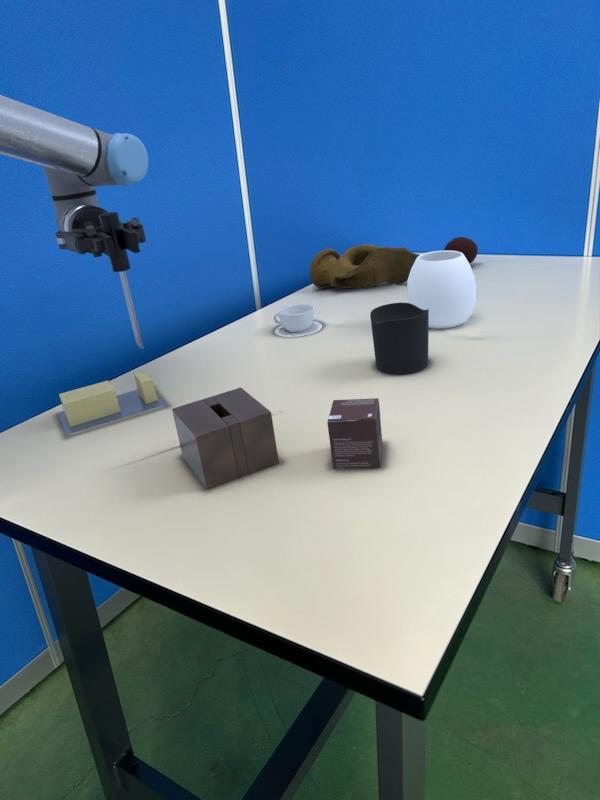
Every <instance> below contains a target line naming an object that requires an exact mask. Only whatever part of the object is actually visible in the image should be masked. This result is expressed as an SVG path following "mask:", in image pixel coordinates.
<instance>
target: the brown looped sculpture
mask: <svg viewBox="0 0 600 800" xmlns="http://www.w3.org/2000/svg"><path fill="white" fill-rule="evenodd" d="M419 255H420V254H418V253H414V252H412V251H410V250H409V249H407V248H406V247H404V246H403V247H390V246H378V245H374V244H373V245H372V244H358V245H354V246H352V247H349V248H348V249H346V250H345V251H344V252H343V253H342V254H341V255H340V254H339V252H338V251H337V250H335V249H334V248H326V249H323V250H321V251H319V252H318V253H316V255H315V256H314V257H313V259H312V260H311V263H310V268H309V277H310V281H311V283H312V284H313V286H314V287H316V288H318V289H321V290H322V289H326V288H329V287H330V286H334V287H335V288H340V289H353V288H362V289H363V288H364V289H370V288H373V287H374V286H378V285H381V284H388V283H389V284H394V285H397V286H399V285H402V284H404V283H406V282H407V280H408V277H409V274H410V271H411V268H412V266H413V264H414V262H415V260H416V258H417V257H418V256H419Z"/></svg>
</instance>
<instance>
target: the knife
mask: <svg viewBox="0 0 600 800" xmlns="http://www.w3.org/2000/svg"><path fill="white" fill-rule="evenodd" d="M99 218H100V222H101V226H102V230H103V233H105V234H107V235H109V236H111V237H112V239H113V244H114V248H115V252H116V256H117V257H114V258H110V257H109V256H108V258H109V263H110V267H111V271H112V272H113V273H118V274H119V279H120V282H121V286H122V291H123V294H124V298H125V302H126V306H127V307H126V308H127V311H128V315H129V319H130V323H131V328H132V332H133V335H134V340H135V345H137V347H138V348H139V349H140V350H144V344H143V339H142V335H141V331H140V327H139V323H138V318H137V314H136V310H135V305H134V302H133V297H132V292H131V290H130V285H129V284H130V283H129V281H128V276H127V273H126V271H128V270H130V269H131V264H130V259H129V255H128V251H127V249H126V246H125V242H124V238H123V233H122V229H121V225H120V221H121V220H120V217H119V213H118V212H117V211H112V212H111V211H110V212H109V213H104V214H100V215H99Z"/></svg>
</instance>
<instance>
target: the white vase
mask: <svg viewBox="0 0 600 800" xmlns="http://www.w3.org/2000/svg"><path fill="white" fill-rule="evenodd" d="M406 282H407V284H406V286H407V287H406V301H407V302H406V303H410V304H413V305H415V306H417V307H419V308H420V309H422V310H427V309H428V310H429V328H428V329H436V330H438V329H440V330H442V329H451V328H455V327H459V326H461V325H463V324H464V323H466V322H467V321H468V320H470V318H471V316H472V315H473V314H474V310H475V308H476V305H477V283H476V276H475V273H474V271H473V268H472V266H471V263H470V264H469V262H468V261H467V259H466V257H465V256H464V254H463V253H461V252H458V251H450V250H449V251H444V250H433V251H429V252H425V253H421V254H419V256H418V257H417V258H416V260H415V262H414V264H413V266H412V268H411V271H410V274H409V277H408V280H407V281H406Z"/></svg>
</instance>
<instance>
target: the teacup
mask: <svg viewBox="0 0 600 800" xmlns="http://www.w3.org/2000/svg"><path fill="white" fill-rule="evenodd" d="M277 317H278V318H279V320H278V319H277ZM314 319H315V306H314V305H312V304H309V303H295V304H289V305H287V306H284V307H281V308H280V309H279V310H278V311H277V313H275V314H274V315H273V321H274V323H275V324H277V325H278V327H276V328H275V329H274V334H275V335H277V336H280V337H283V338H284V337H285V338H296V337H304V336H308V335H312V334H315V333H317V332H318V331H320V330H321V329H322V328H323V325H322V323H321V322H319V321H314ZM313 324H314V325H316V328H315V329H314V330H312V331H310V332H306V331H308V330H309V329H310V328H311V327H312V325H313ZM279 325H280V326H279ZM282 328H284V329H285V330H286V331H287V332H289V333H301V332H306V333H302V334H296V335H293V334H292V335H291V334H290V335H289V334H283V333H281V332H280V330H281V329H282Z"/></svg>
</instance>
